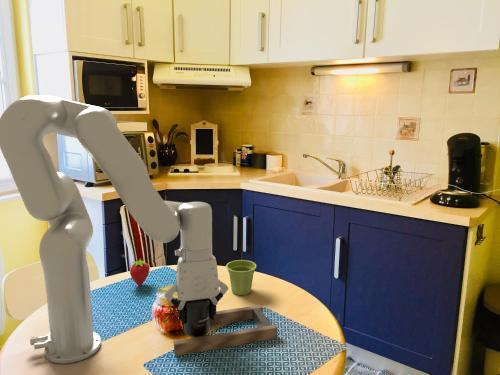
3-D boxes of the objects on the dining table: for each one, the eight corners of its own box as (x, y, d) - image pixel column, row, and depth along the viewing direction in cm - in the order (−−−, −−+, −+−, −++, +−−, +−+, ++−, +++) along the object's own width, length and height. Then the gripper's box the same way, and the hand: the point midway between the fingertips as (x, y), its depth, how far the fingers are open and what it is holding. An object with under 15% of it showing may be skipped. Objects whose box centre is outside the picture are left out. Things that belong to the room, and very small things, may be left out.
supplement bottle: (205, 339, 104) (205, 294, 101) (179, 336, 105) (178, 291, 103) (213, 325, 111) (213, 282, 108) (189, 322, 112) (188, 279, 109)
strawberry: (153, 281, 141) (152, 252, 139) (145, 291, 133) (144, 261, 131) (135, 280, 141) (134, 251, 139) (127, 290, 134) (125, 260, 132)
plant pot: (228, 299, 129) (228, 272, 127) (224, 286, 138) (224, 260, 136) (258, 296, 131) (259, 270, 129) (252, 283, 140) (252, 259, 138)
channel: (175, 355, 101) (174, 344, 100) (168, 328, 112) (167, 318, 111) (277, 338, 109) (277, 327, 108) (260, 314, 120) (261, 304, 119)
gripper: (162, 262, 97) (164, 332, 101) (235, 254, 103) (234, 321, 107) (158, 250, 104) (160, 317, 108) (226, 244, 110) (226, 307, 113)
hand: (197, 319), depth 107 cm, fingers closed on supplement bottle, 6 cm apart
